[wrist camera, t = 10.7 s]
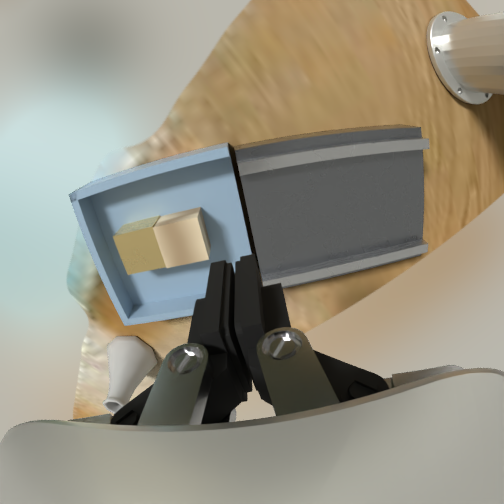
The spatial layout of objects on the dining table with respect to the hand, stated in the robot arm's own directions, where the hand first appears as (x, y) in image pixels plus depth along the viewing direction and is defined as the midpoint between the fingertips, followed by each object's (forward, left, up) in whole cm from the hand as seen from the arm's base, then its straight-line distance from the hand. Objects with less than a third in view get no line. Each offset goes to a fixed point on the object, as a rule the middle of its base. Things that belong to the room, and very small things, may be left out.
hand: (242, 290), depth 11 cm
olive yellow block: (+9, +3, -17) cm, 19 cm away
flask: (+19, +19, -19) cm, 33 cm away
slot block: (-10, +3, -19) cm, 22 cm away
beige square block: (+5, +3, -17) cm, 18 cm away
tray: (+7, +3, -19) cm, 21 cm away
